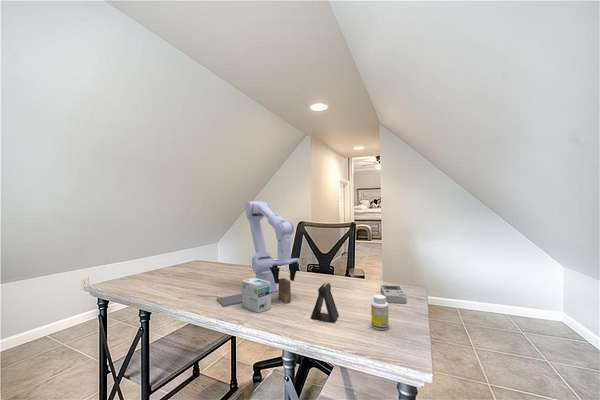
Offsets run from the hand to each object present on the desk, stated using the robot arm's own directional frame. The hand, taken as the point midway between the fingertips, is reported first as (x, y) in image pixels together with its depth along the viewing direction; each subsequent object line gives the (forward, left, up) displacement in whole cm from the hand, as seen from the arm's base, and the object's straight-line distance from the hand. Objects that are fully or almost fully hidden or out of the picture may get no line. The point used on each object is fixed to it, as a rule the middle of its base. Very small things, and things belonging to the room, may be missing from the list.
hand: (284, 281), depth 114 cm
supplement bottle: (-15, +39, -9) cm, 43 cm away
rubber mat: (+18, -13, -8) cm, 24 cm away
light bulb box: (+13, 0, -9) cm, 16 cm away
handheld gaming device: (-43, +22, -9) cm, 49 cm away
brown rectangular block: (0, 0, -8) cm, 8 cm away
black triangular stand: (-4, +23, -9) cm, 25 cm away
